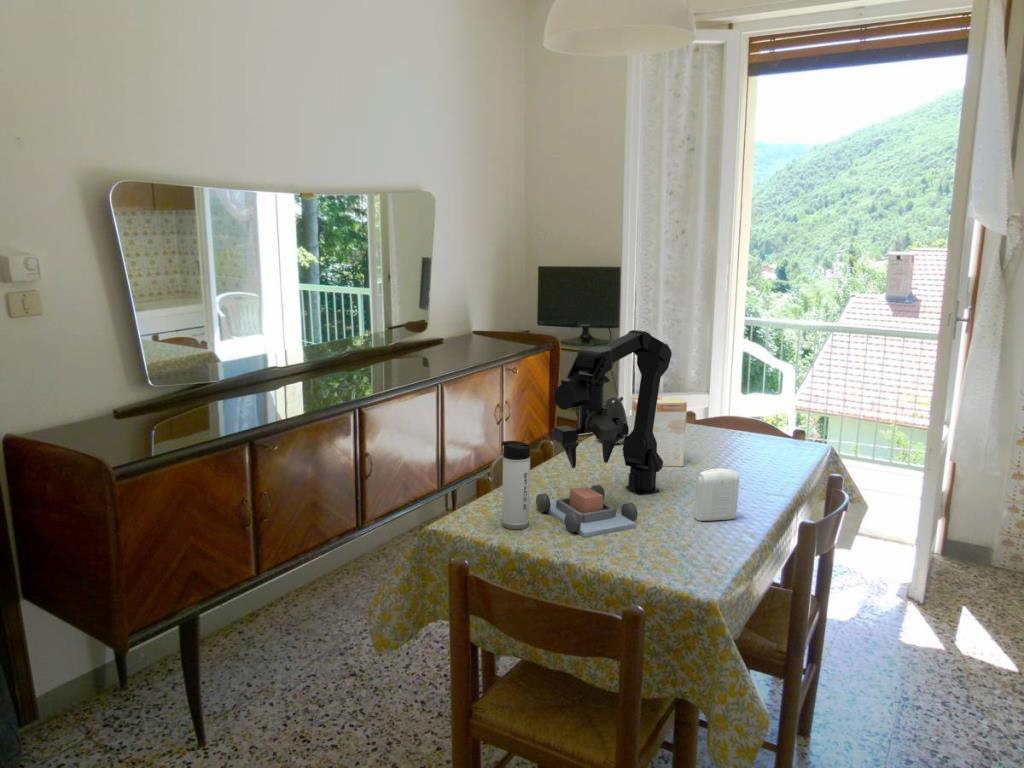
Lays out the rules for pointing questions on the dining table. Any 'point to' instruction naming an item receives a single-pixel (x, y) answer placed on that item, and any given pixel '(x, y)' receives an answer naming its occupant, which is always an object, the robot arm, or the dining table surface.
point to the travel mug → (516, 485)
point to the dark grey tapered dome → (615, 410)
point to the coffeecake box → (668, 429)
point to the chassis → (589, 515)
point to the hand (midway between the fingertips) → (589, 465)
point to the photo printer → (716, 494)
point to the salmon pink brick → (586, 500)
